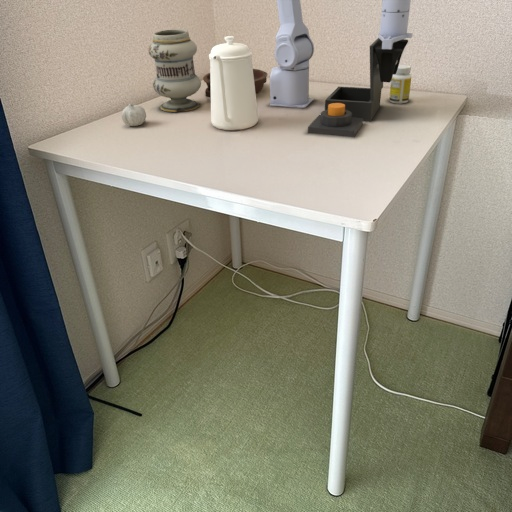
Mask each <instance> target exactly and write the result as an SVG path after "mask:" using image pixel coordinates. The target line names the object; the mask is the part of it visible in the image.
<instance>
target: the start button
mask: <svg viewBox="0 0 512 512" xmlns="http://www.w3.org/2000/svg"><path fill="white" fill-rule="evenodd" d="M328 115H330V116H342V115H345V104H342V103H332V104H329V105H328Z"/></svg>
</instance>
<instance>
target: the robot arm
mask: <svg viewBox="0 0 512 512" xmlns="http://www.w3.org/2000/svg"><path fill="white" fill-rule="evenodd" d="M411 1H412V0H382V3H381V11H380V21H379V33H378V36H377V39H378V38H379V39H380V40H381V41H382V47H375V49H374V51H375V54H376V57H377V60H378V64H379V72H380V80H381V82H383V83H391V79H392V76H393V74H396V72H397V69H398V66H399V65H400V63H401V60H402V59H401V58H402V55H403V53H404V50H405V48H406V46H407V45H408V44H409V39H411V38H413V32H408V26H409V17H410V10H411V3H412V2H411ZM276 6H277V14H278V21H279V29H278V31H277V33H276V35H275V49H274V59H275V62H276V63H277V65H278V66H273V67H272V69H271V71H270V75H269V95H270V97H269V98H270V100H269V101H270V103H269V106H271V107H282V108H283V107H284V108H298V109H305V108H307V107H308V106H309V105H310V104H311V103H312V102H313V101H314V98H313V97H309V95H310V93H309V91H310V60H311V59H312V57H313V56H314V53H315V45H314V42H313V41H312V38H311V36H310V32H309V28H308V26H307V25H306V24H305V23H304V21H303V12H302V3H301V0H276ZM396 62H397V64H396Z"/></svg>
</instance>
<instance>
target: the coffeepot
mask: <svg viewBox="0 0 512 512" xmlns="http://www.w3.org/2000/svg"><path fill="white" fill-rule="evenodd" d="M223 38H224V41H225V42H226V43H219V44H216V45H214V46H213V47H212V48H211V50H210V53H209V54H208V59H209V67H210V68H209V73H210V85H211V98H210V122H211V125H212V126H213V127H214V128H216V129H219V130H223V131H242V130H247V129H249V128H252V127H254V126H256V124H258V122H259V111H258V105H257V103H258V101H257V94H256V93H255V84H254V75H253V69H254V68H253V59H252V57H253V51H251V50H250V48H249V46H248V45H247V44H245V43H242V42H234V40H235V36H234V35H226V36H224V37H223Z"/></svg>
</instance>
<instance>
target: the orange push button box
mask: <svg viewBox="0 0 512 512" xmlns="http://www.w3.org/2000/svg"><path fill="white" fill-rule="evenodd" d="M363 122H364V121H363V118H356V117H352V113H351V112H350V111H348V110H345V115H342V116H330V115H328V110H325V109H324V110H322V111H321V112H320V114H318V116H316V118H315V119H314V120H313V121H312V122H311V123H310V124H309V125H308V126H307V134H312V135H323V136H336V137H346V138H355V136H356V135H357V134H358V132H359V131H360V129H361V127H362V126H363Z"/></svg>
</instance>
